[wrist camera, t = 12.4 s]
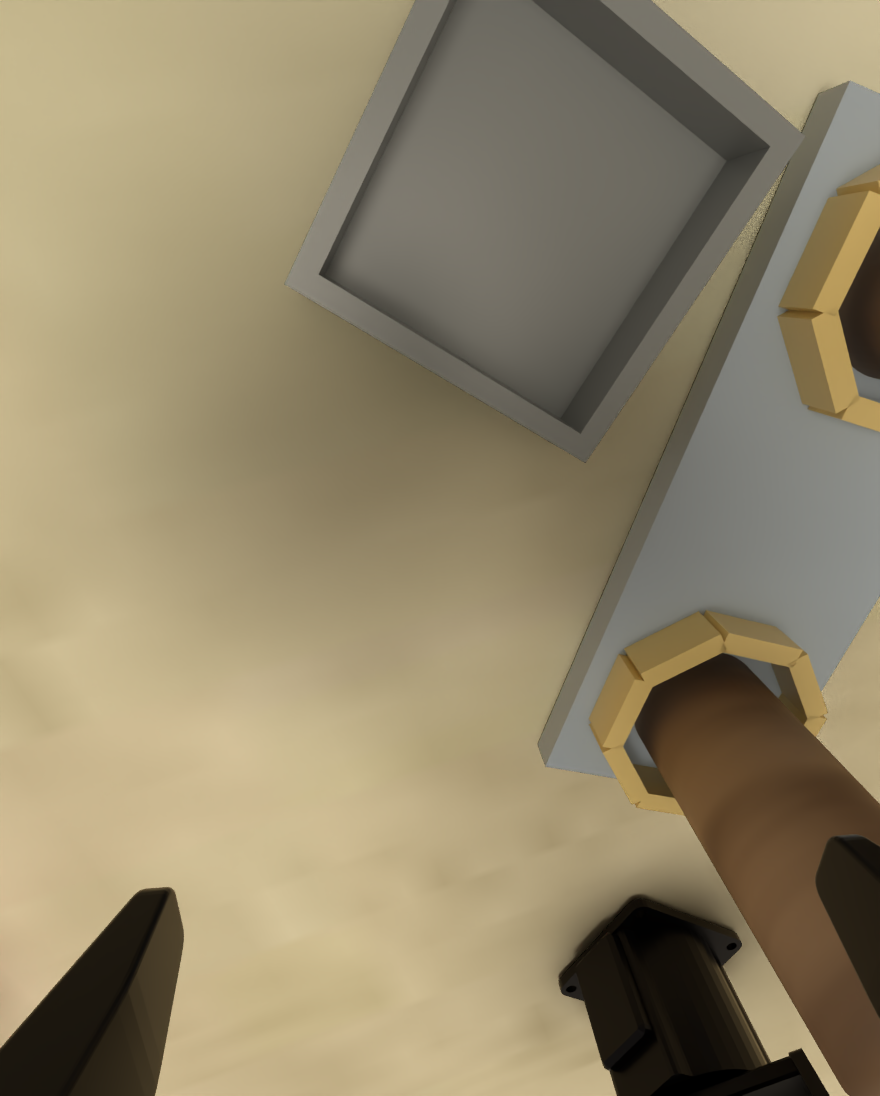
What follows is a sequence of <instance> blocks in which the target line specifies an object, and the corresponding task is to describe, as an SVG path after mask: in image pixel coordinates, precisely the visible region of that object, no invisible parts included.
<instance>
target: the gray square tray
mask: <svg viewBox="0 0 880 1096" xmlns="http://www.w3.org/2000/svg"><path fill="white" fill-rule="evenodd" d="M805 137H806V136H804V135H803V134H802V133H801V132H800V131H799V130H798V129H797V128H795V127H794V126H793V125H792V124H791V123H790V122H789V121H787V120H786V119H785V118H784V117H783V116H782V115H781V114H779V113H778V112H777V111H776V110H775V109H774V108H773V107H772V106H770V105H769V104H768V103H767V102H766V101H765V100H764V99H762V98H761V97H760V96H759V95H758V94H757V93H756V92H755V91H753V90H752V89H751V88H750V87H749V86H748V85H747V84H745V83H744V82H743V81H742V80H741V79H740V78H739V77H737V76H736V75H735V74H734V73H733V72H732V71H731V70H730V69H728V68H727V67H726V66H725V65H724V64H723V63H722V62H720V61H719V60H718V59H717V58H716V57H715V56H714V55H713V54H711V53H710V52H709V51H708V50H707V49H706V48H705V47H703V46H702V45H701V44H700V43H699V42H698V41H697V40H695V39H694V38H693V37H692V36H691V35H690V34H689V33H688V32H686V31H685V30H684V29H683V28H682V27H681V26H680V25H678V24H677V23H676V22H675V21H674V20H673V19H672V18H670V17H669V16H668V15H667V14H666V13H665V12H664V11H663V10H661V9H660V8H659V7H658V6H657V5H656V4H655V3H653V2H652V1H651V0H415V3H414V5H413V7H412V9H411V11H410V13H409V16H408V18H407V20H406V22H405V24H404V26H403V28H402V31H401V33H400V35H399V37H398V39H397V41H396V44H395V46H394V48H393V50H392V52H391V54H390V57H389V59H388V61H387V63H386V65H385V67H384V70H383V72H382V74H381V76H380V78H379V80H378V83H377V85H376V87H375V89H374V91H373V93H372V96H371V98H370V100H369V102H368V104H367V106H366V108H365V111H364V113H363V115H362V117H361V119H360V121H359V124H358V126H357V128H356V130H355V132H354V134H353V137H352V139H351V141H350V143H349V145H348V147H347V150H346V152H345V154H344V156H343V158H342V160H341V163H340V165H339V167H338V169H337V171H336V173H335V176H334V178H333V180H332V182H331V184H330V186H329V188H328V191H327V193H326V195H325V197H324V199H323V201H322V204H321V206H320V208H319V210H318V212H317V214H316V217H315V219H314V221H313V223H312V225H311V227H310V230H309V232H308V234H307V236H306V238H305V240H304V243H303V245H302V247H301V249H300V251H299V253H298V255H297V258H296V260H295V262H294V264H293V266H292V268H291V271H290V273H289V275H288V277H287V279H286V281H285V285H286V286H288V287H290V288H291V289H293V290H295V291H296V292H298V293H300V294H302V295H303V296H305V297H307V298H308V299H310V300H312V301H313V302H315V303H317V304H318V305H320V306H322V307H323V308H325V309H327V310H328V311H330V312H332V313H334V314H335V315H337V316H339V317H340V318H342V319H344V320H345V321H347V322H349V323H350V324H352V325H354V326H355V327H357V328H359V329H360V330H362V331H364V332H366V333H367V334H369V335H371V336H372V337H374V338H376V339H377V340H379V341H381V342H382V343H384V344H386V345H387V346H389V347H391V348H392V349H394V350H396V351H397V352H399V353H401V354H403V355H404V356H406V357H408V358H409V359H411V360H413V361H414V362H416V363H418V364H419V365H421V366H423V367H424V368H426V369H428V370H429V371H431V372H433V373H435V374H436V375H438V376H440V377H441V378H443V379H445V380H446V381H448V382H450V383H451V384H453V385H455V386H456V387H458V388H460V389H461V390H463V391H465V392H467V393H468V394H470V395H472V396H473V397H475V398H477V399H478V400H480V401H482V402H483V403H485V404H487V405H488V406H490V407H492V408H493V409H495V410H497V411H499V412H500V413H502V414H504V415H505V416H507V417H509V418H510V419H512V420H514V421H515V422H517V423H519V424H520V425H522V426H524V427H525V428H527V429H529V430H531V431H532V432H534V433H536V434H537V435H539V436H541V437H542V438H544V439H546V440H547V441H549V442H551V443H552V444H554V445H556V446H557V447H559V448H561V449H563V450H564V451H566V452H568V453H569V454H571V455H573V456H574V457H576V458H578V459H579V460H581V461H583V462H584V463H586V461H587V460H588V459H589V457H590V456H591V454H592V453H593V451H594V450H595V448H596V447H597V445H598V444H599V442H600V441H601V439H602V438H603V436H604V435H605V433H606V432H607V430H608V429H609V427H610V426H611V424H612V423H613V421H614V420H615V418H616V417H617V415H618V414H619V413H620V411H621V410H622V408H623V407H624V405H625V404H626V402H627V401H628V399H629V398H630V396H631V395H632V393H633V392H634V390H635V389H636V387H637V386H638V384H639V383H640V381H641V380H642V378H643V377H644V375H645V374H646V372H647V371H648V370H649V368H650V367H651V365H652V364H653V362H654V361H655V359H656V358H657V356H658V355H659V353H660V352H661V350H662V349H663V347H664V346H665V344H666V343H667V341H668V340H669V338H670V337H671V335H672V334H673V332H674V331H675V329H676V328H677V326H678V325H679V324H680V322H681V321H682V319H683V318H684V316H685V315H686V313H687V312H688V310H689V309H690V307H691V306H692V304H693V303H694V301H695V300H696V298H697V297H698V295H699V294H700V292H701V291H702V289H703V288H704V286H705V285H706V283H707V282H708V281H709V279H710V278H711V276H712V275H713V273H714V272H715V270H716V269H717V267H718V266H719V264H720V263H721V261H722V260H723V258H724V257H725V255H726V254H727V252H728V251H729V249H730V248H731V246H732V245H733V243H734V242H735V240H736V239H737V237H738V236H739V235H740V233H741V232H742V230H743V229H744V227H745V226H746V224H747V223H748V221H749V220H750V218H751V217H752V215H753V214H754V212H755V211H756V209H757V208H758V206H759V205H760V203H761V202H762V200H763V199H764V197H765V196H766V194H767V193H768V192H769V190H770V189H771V187H772V186H773V184H774V183H775V181H776V180H777V178H778V177H779V175H780V174H781V172H782V171H783V169H784V168H785V166H786V165H787V163H788V162H789V160H790V159H791V157H792V156H793V154H794V153H795V151H796V150H797V149H798V147H799V146H800V144H801V143H802V141H803V140H804V138H805Z"/></svg>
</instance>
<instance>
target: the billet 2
mask: <svg viewBox="0 0 880 1096" xmlns="http://www.w3.org/2000/svg"><path fill="white" fill-rule="evenodd" d="M838 313H839V317H840V321H841V325H842V329H843V333H844V337H845V341H846V345H847V349H848V353H849V358H850V362H851V366H852V367H853V368H855V369H856V370H857V371H858V372H860V373H862V374H864V375H866V376H869V377H872V378H875V379H880V227H879V229H878V231H877V234H876V236H875V238H874V240H873V242H872V244H871V246H870V248H869V250H868V252H867V254H866V256H865V258H864V260H863V262H862V264H861V266H860V268H859V270H858V272H857V274H856V276H855V278H854V280H853V282H852V284H851V286H850V288H849V290H848V292H847V294H846V296H845V298H844V300H843V302H842V304H841V306H840V308H839V310H838Z"/></svg>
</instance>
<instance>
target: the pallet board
mask: <svg viewBox="0 0 880 1096" xmlns="http://www.w3.org/2000/svg"><path fill="white" fill-rule="evenodd" d="M802 134H803V135H804V136H806V137H805V138H804V140H803V141H802V143H801V144H800V146H799V147H798V149H797V150H796V151H795V153H794V154H793V156H792V157H791V159H790V161H789V164H788V166H787V168H786V171H785V173H784V175H783V178H782V180H781V182H780V184H779V187H778V189H777V191H776V194H775V196H774V198H773V201H772V203H771V205H770V208H769V210H768V212H767V215H766V217H765V219H764V222H763V224H762V226H761V228H760V231H759V233H758V235H757V238H756V240H755V242H754V245H753V247H752V249H751V252H750V254H749V256H748V259H747V261H746V263H745V266H744V268H743V270H742V272H741V275H740V277H739V279H738V282H737V284H736V286H735V289H734V291H733V293H732V296H731V298H730V300H729V303H728V305H727V307H726V310H725V312H724V314H723V316H722V319H721V321H720V323H719V326H718V328H717V330H716V333H715V335H714V337H713V340H712V342H711V344H710V347H709V349H708V351H707V353H706V356H705V358H704V360H703V363H702V365H701V367H700V370H699V372H698V374H697V377H696V379H695V381H694V384H693V386H692V388H691V391H690V393H689V395H688V397H687V400H686V402H685V404H684V407H683V409H682V411H681V414H680V416H679V418H678V421H677V423H676V425H675V428H674V430H673V432H672V435H671V437H670V439H669V441H668V444H667V446H666V448H665V451H664V453H663V455H662V458H661V460H660V462H659V465H658V467H657V469H656V472H655V474H654V476H653V479H652V481H651V483H650V485H649V488H648V490H647V492H646V495H645V497H644V499H643V502H642V504H641V506H640V509H639V511H638V513H637V516H636V518H635V520H634V523H633V525H632V527H631V529H630V532H629V534H628V536H627V539H626V541H625V543H624V546H623V548H622V550H621V553H620V555H619V557H618V560H617V562H616V564H615V566H614V569H613V571H612V573H611V576H610V578H609V580H608V583H607V585H606V587H605V590H604V592H603V594H602V597H601V599H600V601H599V604H598V606H597V608H596V610H595V613H594V615H593V617H592V620H591V622H590V624H589V627H588V629H587V631H586V634H585V636H584V638H583V641H582V643H581V645H580V648H579V650H578V652H577V654H576V657H575V659H574V661H573V664H572V666H571V668H570V671H569V673H568V675H567V678H566V680H565V682H564V685H563V687H562V689H561V692H560V694H559V696H558V698H557V701H556V703H555V705H554V708H553V710H552V712H551V715H550V717H549V719H548V722H547V724H546V726H545V729H544V731H543V733H542V735H541V738H540V740H539V742H538V747H539V750H540V753H541V756H542V759H543V761H544V764H545V767H551V768H557V769H563V770H569V771H574V772H580V773H586V774H592V775H598V776H604V777H610V778H616V779H618V781H619V783H620V785H621V786H622V788H623V790H624V792H625V794H626V795H627V797H628V799H629V801H630V802H631V804H635V805H636V807H637V808H641V809H647V810H653V811H659V812H666V813H672V814H678V815H684V813H683V811H682V810H681V808H680V806H679V804H678V803H677V801H676V799H675V797H674V796H673V794H672V792H671V791H670V789H669V787H668V785H667V784H666V782H665V780H664V778H663V777H662V775H661V773H660V771H659V770H658V768H657V766H656V765H655V763H654V761H653V759H652V758H651V756H650V754H649V752H648V751H647V749H646V747H645V745H644V744H643V742H642V740H641V739H640V737H639V735H638V733H637V731H636V729H635V725H634V723H635V721H636V719H637V717H638V715H639V713H640V711H641V709H642V707H643V705H644V703H645V701H646V699H647V697H648V695H649V693H650V691H651V689H652V687H654V686H656V685H658V684H660V683H662V682H664V681H666V680H668V679H670V678H672V677H674V676H676V675H678V674H680V673H682V672H684V671H686V670H688V669H690V668H692V667H694V666H696V665H698V664H701V663H703V662H705V661H707V660H709V659H711V658H713V657H715V656H717V655H719V654H721V653H725V654H728V655H731V656H733V657H736V658H737V659H739V660H741V661H742V662H743V663H744V664H745V665H747V666H748V667H749V669H750V670H751V671H752V672H753V673H754V674H755V675H756V676H757V677H758V678H759V679H760V680H761V681H762V682H763V683H764V684H765V685H766V686H767V687H768V688H769V689H770V690H771V691H772V692H773V693H774V695H775V696H776V697H777V698H778V699H779V700H780V701H781V702H782V703H783V704H784V705H785V706H786V707H787V708H788V709H789V710H790V711H791V712H792V713H793V714H794V715H795V716H796V717H797V718H798V720H799V721H800V722H801V723H802V724H803V725H804V726H805V727H806V728H807V729H808V730H809V731H810V732H811V733H812V734H813V735H814V736H815V737H816V735H817V734H818V732H819V731H820V729H821V727H822V726H823V724H824V723H825V721H826V718H825V717H824V716H823V715H824V714H826V713H828V712H827V709H826V706H825V703H824V700H823V697H822V694H821V691H822V690H823V688H824V686H825V685H826V683H827V681H828V680H829V678H830V676H831V675H832V673H833V672H834V670H835V668H836V667H837V665H838V663H839V662H840V660H841V658H842V657H843V655H844V654H845V652H846V650H847V649H848V647H849V645H850V644H851V642H852V641H853V639H854V637H855V636H856V634H857V632H858V631H859V629H860V627H861V626H862V624H863V623H864V621H865V619H866V618H867V616H868V614H869V613H870V611H871V609H872V608H873V606H874V605H875V603H876V601H877V600H878V598H879V596H880V379H875V378H872V377H869V376H866V375H864V374H862V373H860V372H858V371H857V370H856V369H855V368H853V367H852V366H851V362H850V358H849V353H848V349H847V345H846V341H845V337H844V333H843V329H842V325H841V321H840V317H839V313H838V310H839V308H840V306H841V304H842V302H843V300H844V298H845V296H846V294H847V292H848V290H849V288H850V286H851V284H852V282H853V280H854V278H855V276H856V274H857V272H858V270H859V268H860V266H861V264H862V262H863V260H864V258H865V256H866V254H867V252H868V250H869V248H870V246H871V244H872V242H873V240H874V238H875V236H876V234H877V231H878V229H879V227H880V94H879V93H877V92H875V91H872V90H870V89H868V88H866V87H863V86H861V85H859V84H857V83H854V82H852V81H848V82H846V83H843V84H841V85H838V86H836V87H833V88H831V89H829V90H826V91H824V92H821V93H819V94H818V97H817V99H816V101H815V103H814V106H813V108H812V110H811V113H810V115H809V117H808V120H807V122H806V124H805V127H804V129H803V131H802ZM684 816H685V815H684Z"/></svg>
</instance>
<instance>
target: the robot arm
mask: <svg viewBox="0 0 880 1096" xmlns="http://www.w3.org/2000/svg"><path fill="white" fill-rule="evenodd" d="M815 884H816V889H817V892H818V895H819V897H820V899H821V902H822V904H823V906H824V908H825V910H826V912H827V914H828V916H829V918H830V920H831V922H832V924H833V926H834V928H835V930H836V933H837V935H838V937H839V939H840V941H841V943H842V945H843V947H844V949H845V951H846V953H847V955H848V957H849V959H850V961H851V964H852V966H853V968H854V970H855V972H856V974H857V976H858V978H859V980H860V982H861V984H862V986H863V988H864V990H865V992H866V994H867V996H868V998H869V1000H870V1002H871V1004H872V1006H873V1008H874V1010H875V1012H876V1014H877V1015H878V1017H879V1019H880V846H879V845H877V844H876V843H874V842H873V841H871V840H869V839H868V838H866V837H864V836H861V835H857V834H850V835H837V836H832V837H831V838H829V839H828V841H827V843H826V845H825V848H824V851H823V854H822V857H821V860H820V863H819V866H818V869H817V872H816V875H815ZM183 942H184V930H183V925H182V921H181V916H180V912H179V907H178V903H177V898H176V894H175V892H174V890H173V889H172V888H170V887H162V888H149V889H143V890H140V891H139V892H137V893H136V894H135V895H134V896H133V897H132V898H131V899H130V900H129V902H128V903H127V904H126V905H125V906H124V907H123V908H122V910H121V911H120V912H119V913H118V914H117V915H116V916H115V918H114V919H113V920H112V921H111V922H110V923H109V924H108V926H107V927H106V928H105V929H104V930H103V931H102V932H101V934H100V935H99V936H98V937H97V938H96V939H95V940H94V942H93V943H92V944H91V945H90V946H89V947H88V949H87V950H86V951H85V952H84V953H83V954H82V955H81V957H80V958H79V959H78V960H77V961H76V962H75V963H74V965H73V966H72V967H71V968H70V969H69V970H68V971H67V973H66V974H65V975H64V976H63V977H62V978H61V979H60V981H59V982H58V983H57V984H56V985H55V986H54V987H53V989H52V990H51V991H50V992H49V993H48V994H47V995H46V997H45V998H44V999H43V1000H42V1001H41V1002H40V1003H39V1005H38V1006H37V1007H36V1008H35V1009H34V1010H33V1012H32V1013H31V1014H30V1015H29V1016H28V1017H27V1018H26V1020H25V1021H24V1022H23V1023H22V1024H21V1025H20V1026H19V1028H18V1029H17V1030H16V1031H15V1032H14V1033H13V1034H12V1036H11V1037H10V1038H9V1039H8V1040H7V1041H6V1042H5V1044H4V1045H3V1046H2V1047H1V1048H0V1096H155V1093H156V1089H157V1084H158V1079H159V1075H160V1070H161V1065H162V1059H163V1054H164V1048H165V1043H166V1037H167V1032H168V1027H169V1021H170V1016H171V1010H172V1005H173V999H174V994H175V989H176V983H177V978H178V972H179V967H180V961H181V956H182V950H183ZM741 946H742V943H741V941H740V939H739V937H738V935H737V933H735V932H734V931H731V930H728V929H725V928H723V927H720V926H717V925H714V924H712V923H709V922H706V921H703V920H701V919H698V918H695V917H692V916H690V915H687V914H684V913H682V912H679V911H676V910H673V909H671V908H668V907H665V906H662V905H660V904H657V903H654V902H651V901H649V900H646V899H642V898H640V899H635V900H633V901H631V902H630V903H629V904H628V905H627V906H626V907H625V908H624V909H623V911H622V912H621V913H620V914H619V915H618V916H617V917H616V918H615V919H614V920H613V921H612V922H611V924H610V925H609V926H608V927H607V928H606V929H605V930H604V931H603V932H602V933H601V934H600V935H599V937H598V938H597V939H596V940H595V941H594V942H593V943H592V944H591V945H590V946H589V947H588V949H587V950H586V951H585V952H584V953H583V954H582V955H581V956H580V957H579V958H578V959H577V960H576V962H575V963H574V964H573V965H572V966H571V967H570V968H569V969H568V970H567V971H566V972H565V973H564V975H563V976H562V977H561V978H560V979H559V986H560V990H561V992H562V994H563V995H565V996H569V997H572V998H576V999H579V1000H582V1001H584V1002H585V1005H586V1009H587V1012H588V1015H589V1019H590V1022H591V1026H592V1029H593V1033H594V1036H595V1040H596V1043H597V1046H598V1050H599V1053H600V1057H601V1060H602V1064H603V1066H604V1068H605V1069H607V1070H610V1074H611V1077H612V1081H613V1084H614V1087H615V1091H616V1094H617V1096H829V1094H828V1092H827V1090H826V1089H825V1087H824V1085H823V1084H822V1082H821V1080H820V1079H819V1077H818V1075H817V1074H816V1072H815V1070H814V1068H813V1067H812V1065H811V1063H810V1062H809V1060H808V1058H807V1057H806V1055H805V1053H804V1052H803V1050H802V1049H801V1048H800V1049H798V1050H795V1051H792V1052H789V1053H788V1054H789V1056H788V1057H785V1058H782V1059H780V1060H777V1061H774V1062H771V1061H770V1059H769V1057H768V1055H767V1053H766V1051H765V1049H764V1047H763V1045H762V1043H761V1042H760V1040H759V1038H758V1036H757V1034H756V1032H755V1030H754V1028H753V1026H752V1024H751V1022H750V1020H749V1018H748V1016H747V1014H746V1012H745V1010H744V1008H743V1006H742V1004H741V1002H740V1000H739V998H738V996H737V994H736V992H735V990H734V988H733V986H732V984H731V982H730V980H729V978H728V976H727V974H726V972H725V970H724V968H723V965H724V964H725V963H726V962H727V961H728V960H729V959H730V958H731V957H732V956H733V955H734V954H735V953H736V952H737V951H738V950H739V949H740V948H741Z"/></svg>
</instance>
